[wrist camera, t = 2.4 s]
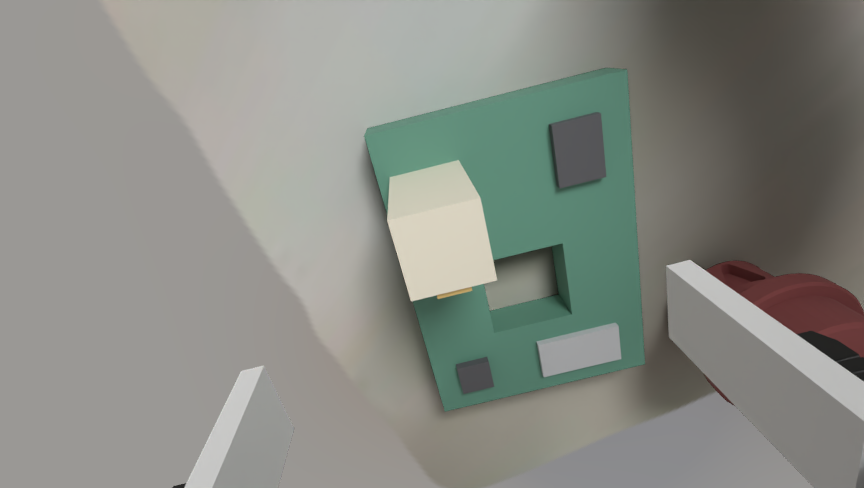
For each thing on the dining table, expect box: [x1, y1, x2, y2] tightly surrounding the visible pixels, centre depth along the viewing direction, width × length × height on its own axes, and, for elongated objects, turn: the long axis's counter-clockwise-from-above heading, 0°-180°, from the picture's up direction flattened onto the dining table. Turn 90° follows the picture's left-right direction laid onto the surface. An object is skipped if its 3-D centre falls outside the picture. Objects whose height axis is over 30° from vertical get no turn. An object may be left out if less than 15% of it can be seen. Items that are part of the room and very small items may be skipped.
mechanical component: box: [704, 261, 864, 406], centre depth 31 cm, size 12×10×10 cm
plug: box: [387, 160, 497, 301], centre depth 26 cm, size 5×4×8 cm
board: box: [364, 68, 645, 412], centre depth 32 cm, size 22×16×4 cm
